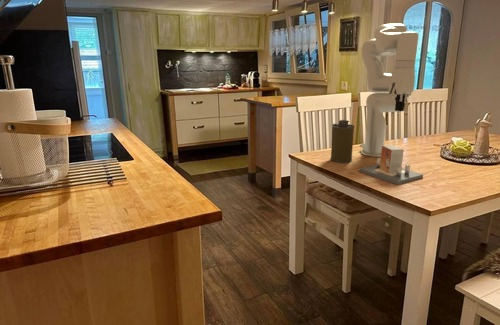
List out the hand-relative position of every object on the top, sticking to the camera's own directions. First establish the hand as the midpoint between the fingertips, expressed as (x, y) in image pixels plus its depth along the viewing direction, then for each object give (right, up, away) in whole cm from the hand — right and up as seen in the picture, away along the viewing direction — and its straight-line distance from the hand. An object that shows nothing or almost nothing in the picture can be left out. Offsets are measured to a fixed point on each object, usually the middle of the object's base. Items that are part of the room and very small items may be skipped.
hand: (399, 110), depth 141 cm
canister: (-17, -20, +29) cm, 39 cm away
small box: (-2, -25, +6) cm, 26 cm away
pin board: (-1, -27, +6) cm, 28 cm away
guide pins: (-1, -25, +5) cm, 26 cm away
